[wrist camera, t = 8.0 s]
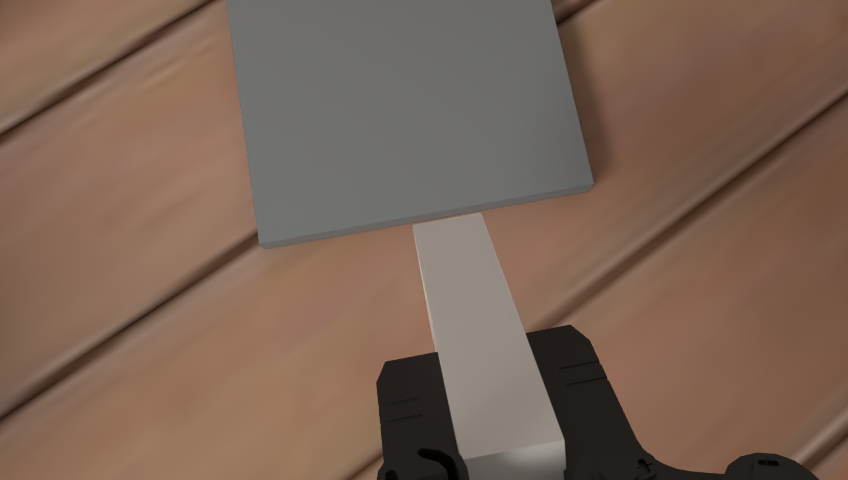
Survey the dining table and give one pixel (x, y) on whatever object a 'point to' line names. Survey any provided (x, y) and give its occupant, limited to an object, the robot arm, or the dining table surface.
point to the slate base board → (401, 111)
